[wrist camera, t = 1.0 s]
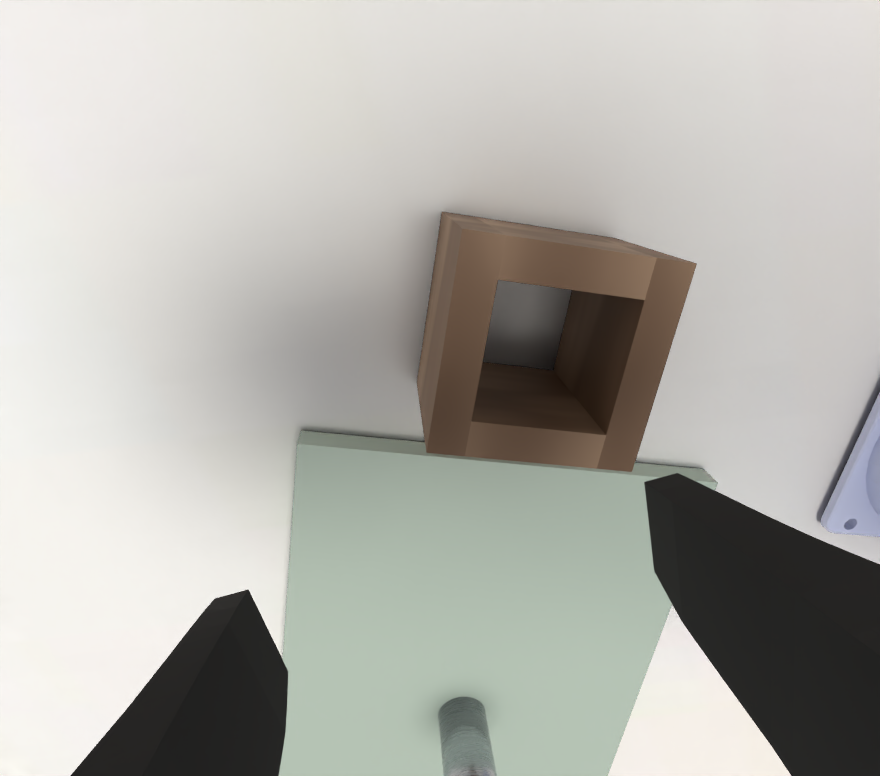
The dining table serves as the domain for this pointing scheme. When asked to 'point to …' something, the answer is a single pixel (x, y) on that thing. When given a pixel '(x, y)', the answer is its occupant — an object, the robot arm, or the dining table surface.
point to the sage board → (464, 607)
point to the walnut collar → (579, 355)
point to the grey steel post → (465, 738)
